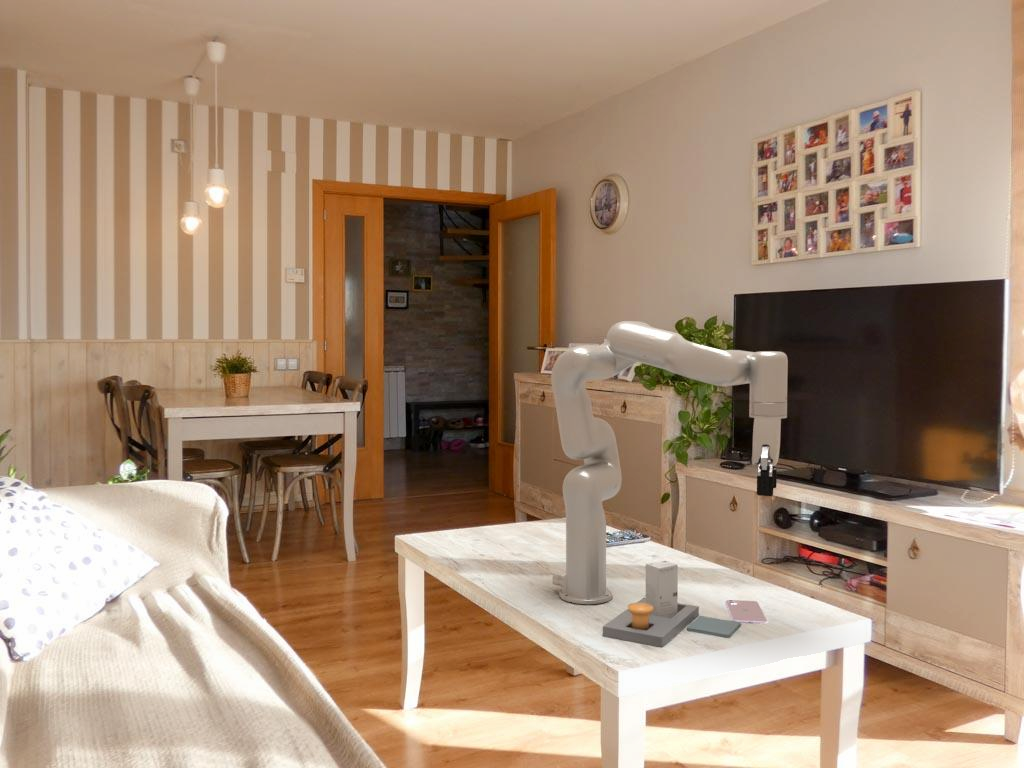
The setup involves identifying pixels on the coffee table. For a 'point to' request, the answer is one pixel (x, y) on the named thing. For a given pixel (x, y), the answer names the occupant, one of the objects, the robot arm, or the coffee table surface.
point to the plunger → (640, 615)
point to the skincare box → (662, 588)
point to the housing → (651, 626)
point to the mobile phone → (745, 611)
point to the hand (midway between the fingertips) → (766, 491)
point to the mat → (714, 626)
